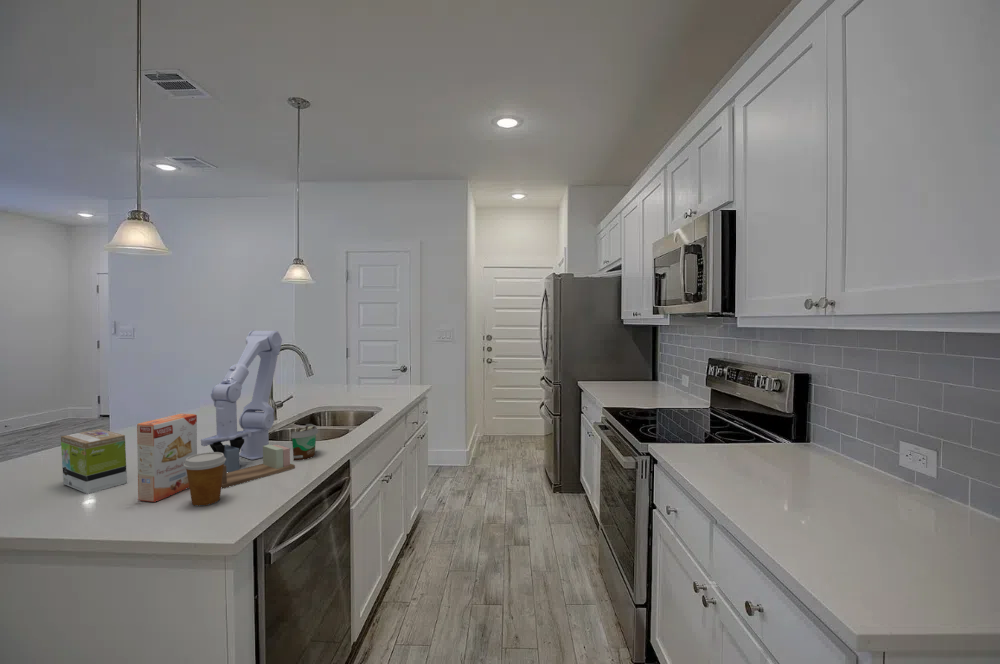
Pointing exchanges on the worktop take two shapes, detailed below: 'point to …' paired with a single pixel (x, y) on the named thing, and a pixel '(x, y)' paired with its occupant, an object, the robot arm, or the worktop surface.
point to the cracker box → (164, 455)
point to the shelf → (249, 474)
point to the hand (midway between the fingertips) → (227, 463)
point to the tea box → (93, 460)
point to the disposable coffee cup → (205, 477)
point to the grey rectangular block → (231, 458)
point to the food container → (304, 442)
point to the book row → (276, 456)
